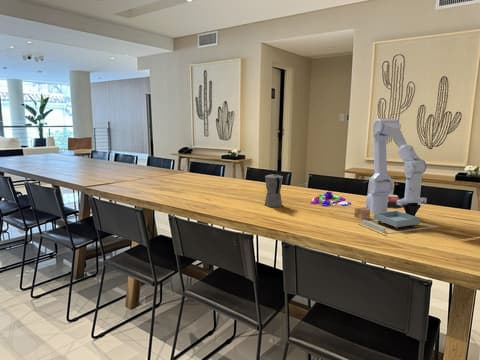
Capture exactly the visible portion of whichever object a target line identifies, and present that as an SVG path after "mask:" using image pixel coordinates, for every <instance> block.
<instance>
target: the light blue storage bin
mask: <svg viewBox="0 0 480 360" xmlns="http://www.w3.org/2000/svg"><path fill="white" fill-rule="evenodd" d="M373 220H378V221H377V223H378V224H381V223H384V224H386V225H390V226H393V227H394V229H395V230H396V231H399V228H400V227H407V226H410V227H411V228H414V227H415V226H416V225H420V224H421V223H420V222H421V217H418V216H416V215H415V216H412V215H409V214H406V213H405V212H403V211H400V210H387V212H379V213H375V212H373Z"/></svg>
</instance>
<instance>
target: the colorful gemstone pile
mask: <svg viewBox="0 0 480 360" xmlns="http://www.w3.org/2000/svg"><path fill="white" fill-rule="evenodd" d="M311 200H312V201H310V205H315V204H318V203H319V204H321V206H322V207H328V206H336V205H338V206H340V207H345V206H346V207H347V206H350V205H352V202H351V201H345V200H346V198H345V197H343V196H339V195H333V192H332V191H327V190H326V191H324V192H323V193H322V194H321V193H320V194H318V196H315V197H314V198H312V199H311Z"/></svg>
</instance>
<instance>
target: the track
mask: <svg viewBox="0 0 480 360" xmlns="http://www.w3.org/2000/svg"><path fill="white" fill-rule="evenodd" d="M376 222H378V220H376V219H374V220H367V219H361V222H360V223H361V224H360V223H359V224H357V225H358V226H361V227H364V228H366V229H368V230H370V231H372V232H375V233H377V234H381V235H383V236H384V237H387V235H389V234H390V235H391V234H398V233H403V232H411V231H417V230H425V229H432V228H438V226H437V225H432V226H427V227H419V228H418V227H417V228H413V229H411V228H410V229H405V230H396V231H391V232H387V233H386V229H387V228H386V227H384V226H381V225H379V224H376ZM373 229H374V230H373ZM384 233H386V234H387V235H386V234H384Z"/></svg>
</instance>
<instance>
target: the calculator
mask: <svg viewBox="0 0 480 360" xmlns="http://www.w3.org/2000/svg"><path fill="white" fill-rule="evenodd" d="M400 199H401V198H400V197H399V195H397V194H390V195H388V204H387V208H391V207H393V208H392V209H394V208H395V209H401V208H402V205H401V206H400V205H397V200H400Z"/></svg>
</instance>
